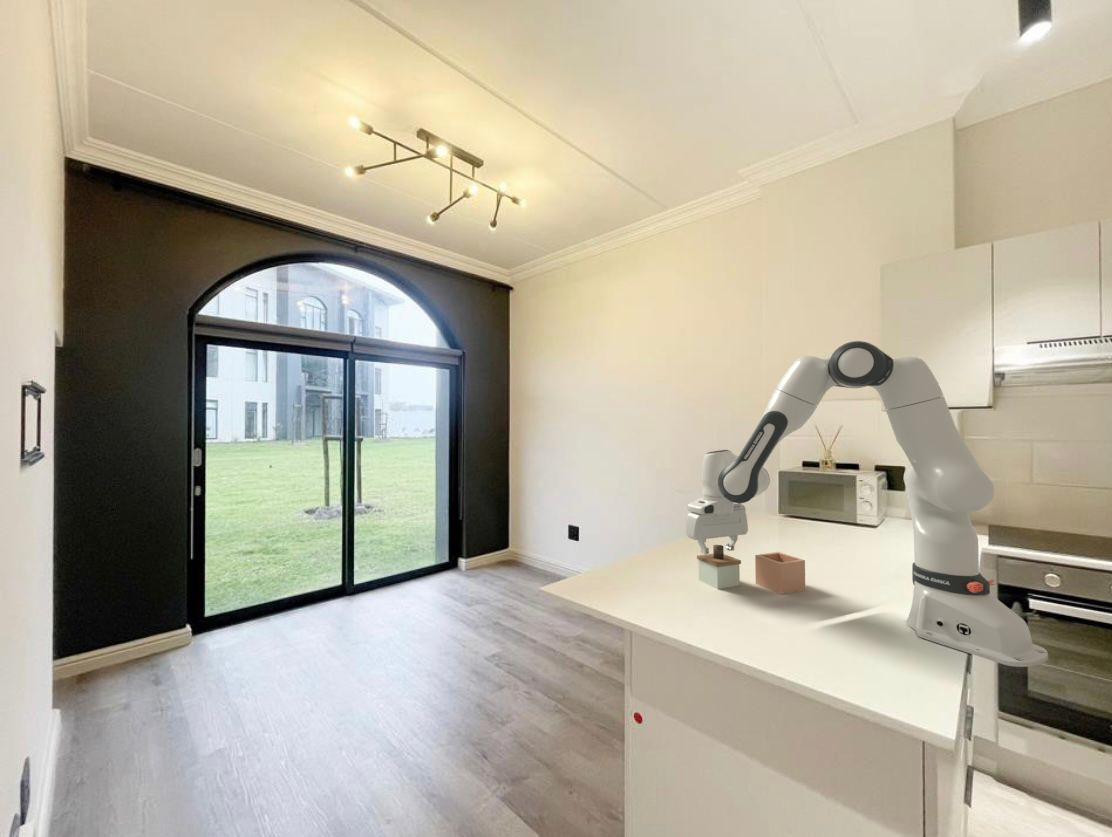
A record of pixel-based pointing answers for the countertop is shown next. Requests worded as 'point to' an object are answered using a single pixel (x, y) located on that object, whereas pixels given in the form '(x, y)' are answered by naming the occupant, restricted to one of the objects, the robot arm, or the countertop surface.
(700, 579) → the tub
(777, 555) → the planter
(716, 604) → the countertop surface
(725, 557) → the lid
